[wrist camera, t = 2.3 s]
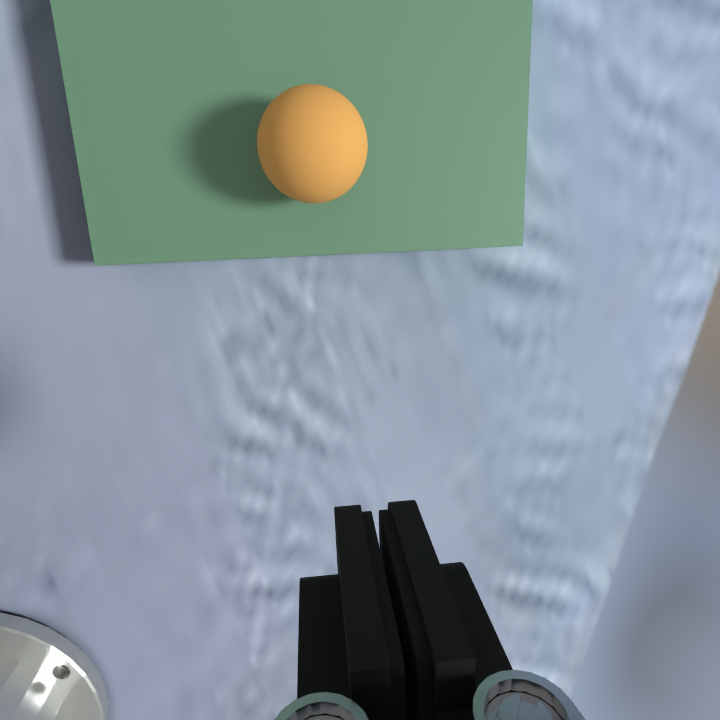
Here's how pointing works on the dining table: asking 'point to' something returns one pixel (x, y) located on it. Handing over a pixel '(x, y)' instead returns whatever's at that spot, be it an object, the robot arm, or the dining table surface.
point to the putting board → (254, 94)
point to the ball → (312, 143)
